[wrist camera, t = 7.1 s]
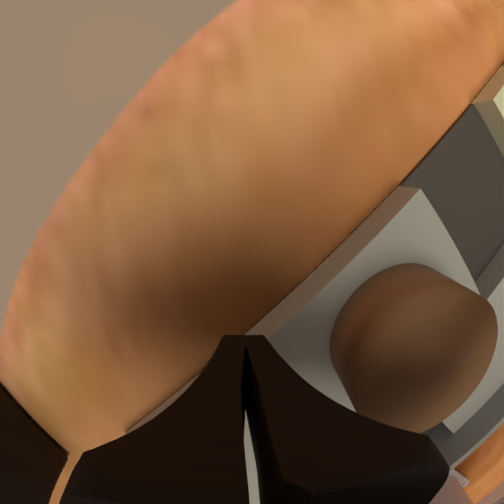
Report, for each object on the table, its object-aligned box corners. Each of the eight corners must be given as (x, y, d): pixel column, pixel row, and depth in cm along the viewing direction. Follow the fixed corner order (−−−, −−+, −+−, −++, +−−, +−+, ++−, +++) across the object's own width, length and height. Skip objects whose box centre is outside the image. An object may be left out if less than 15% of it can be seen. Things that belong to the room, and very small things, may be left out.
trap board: (575, 250, 13) (605, 262, 9) (305, 514, 16) (313, 549, 13) (504, 61, 9) (547, 50, 6) (126, 431, 13) (110, 479, 10)
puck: (467, 319, 11) (510, 350, 8) (378, 407, 11) (405, 454, 9) (410, 230, 10) (465, 252, 7) (298, 344, 10) (319, 399, 7)
